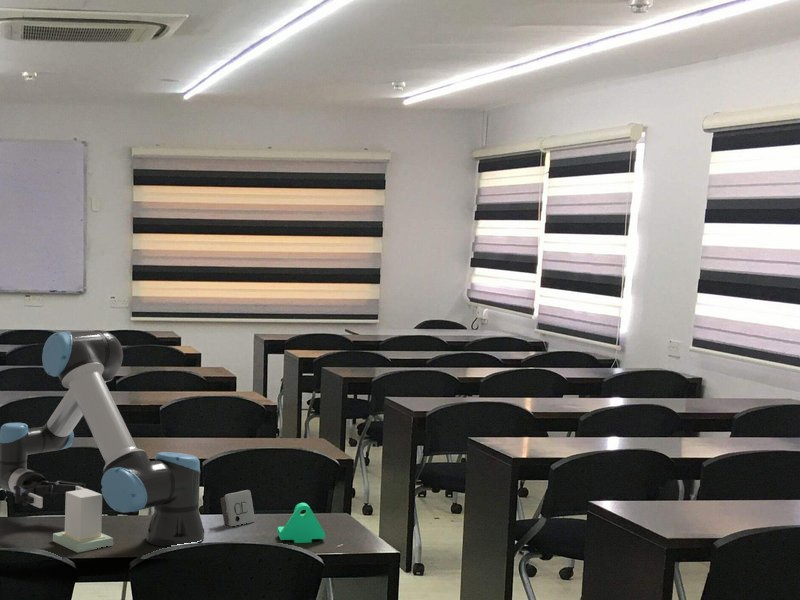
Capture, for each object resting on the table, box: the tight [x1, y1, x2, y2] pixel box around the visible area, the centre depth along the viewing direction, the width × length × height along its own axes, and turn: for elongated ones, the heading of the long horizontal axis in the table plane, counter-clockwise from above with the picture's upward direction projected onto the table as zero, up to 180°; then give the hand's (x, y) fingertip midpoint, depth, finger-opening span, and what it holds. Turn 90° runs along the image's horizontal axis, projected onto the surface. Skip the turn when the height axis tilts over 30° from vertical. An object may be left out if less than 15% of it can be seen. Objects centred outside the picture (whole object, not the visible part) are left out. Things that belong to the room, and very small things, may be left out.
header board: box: [52, 530, 114, 553], centre depth 261 cm, size 13×10×6 cm
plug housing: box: [64, 488, 103, 540], centre depth 261 cm, size 8×6×11 cm
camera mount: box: [277, 502, 326, 544], centre depth 274 cm, size 12×8×10 cm, turn 104°
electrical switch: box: [220, 489, 256, 527], centre depth 287 cm, size 9×5×9 cm, turn 141°
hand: (65, 499), depth 267 cm, fingers open, 13 cm apart
